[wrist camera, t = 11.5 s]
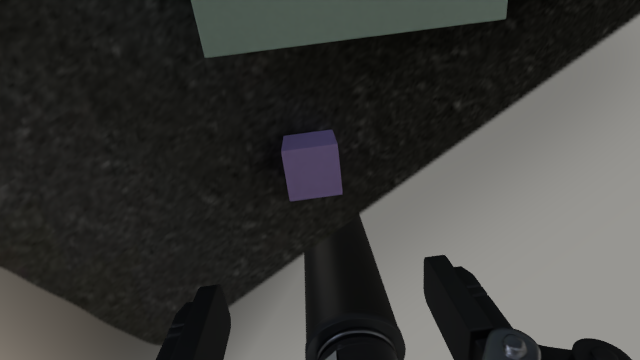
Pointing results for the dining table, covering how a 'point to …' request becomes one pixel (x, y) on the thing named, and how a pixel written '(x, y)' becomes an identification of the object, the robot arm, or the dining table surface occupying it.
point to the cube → (311, 165)
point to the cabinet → (325, 20)
